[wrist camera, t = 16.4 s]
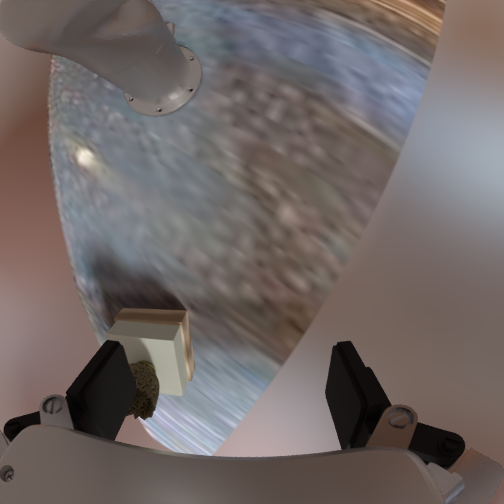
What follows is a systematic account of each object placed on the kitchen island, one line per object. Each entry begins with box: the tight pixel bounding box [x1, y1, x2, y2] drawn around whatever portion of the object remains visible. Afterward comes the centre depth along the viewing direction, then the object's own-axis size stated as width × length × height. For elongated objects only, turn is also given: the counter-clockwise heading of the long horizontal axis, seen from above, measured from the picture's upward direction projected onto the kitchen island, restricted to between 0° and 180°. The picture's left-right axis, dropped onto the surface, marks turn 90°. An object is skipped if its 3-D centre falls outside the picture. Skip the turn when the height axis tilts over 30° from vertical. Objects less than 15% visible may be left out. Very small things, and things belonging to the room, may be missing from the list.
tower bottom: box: [114, 308, 195, 381], centre depth 43 cm, size 12×12×4 cm
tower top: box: [106, 320, 188, 396], centre depth 39 cm, size 11×11×4 cm
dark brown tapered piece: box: [126, 361, 160, 420], centre depth 33 cm, size 8×7×8 cm
